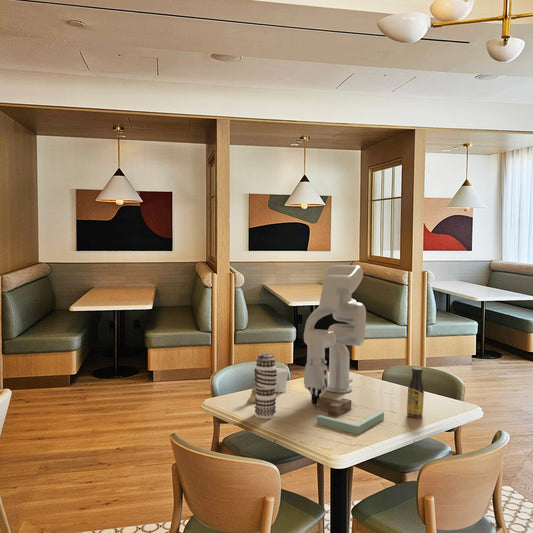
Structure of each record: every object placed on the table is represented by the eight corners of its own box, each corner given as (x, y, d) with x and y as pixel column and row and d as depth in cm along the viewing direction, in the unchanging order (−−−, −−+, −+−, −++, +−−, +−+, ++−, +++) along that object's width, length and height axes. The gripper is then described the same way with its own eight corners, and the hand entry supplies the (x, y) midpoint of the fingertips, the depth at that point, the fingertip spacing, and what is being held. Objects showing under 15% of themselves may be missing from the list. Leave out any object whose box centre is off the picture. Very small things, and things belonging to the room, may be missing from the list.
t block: (327, 403, 230) (327, 394, 230) (351, 409, 222) (351, 400, 222) (311, 410, 220) (311, 401, 220) (336, 416, 213) (336, 406, 213)
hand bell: (263, 397, 239) (263, 362, 238) (268, 402, 231) (268, 366, 230) (245, 398, 237) (246, 363, 236) (250, 404, 229) (250, 367, 228)
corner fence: (344, 410, 221) (344, 403, 221) (383, 419, 210) (384, 412, 210) (316, 423, 204) (316, 416, 204) (358, 434, 193) (358, 426, 193)
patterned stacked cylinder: (253, 418, 210) (254, 356, 208) (254, 411, 219) (254, 351, 218) (276, 418, 210) (277, 356, 209) (276, 411, 219) (276, 352, 218)
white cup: (287, 393, 246) (287, 372, 245) (270, 393, 246) (270, 371, 246) (287, 388, 254) (287, 368, 253) (270, 388, 254) (271, 367, 253)
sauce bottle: (403, 415, 215) (404, 367, 214) (413, 412, 219) (414, 365, 218) (417, 419, 210) (418, 370, 209) (426, 416, 214) (427, 368, 213)
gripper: (335, 362, 224) (334, 405, 224) (306, 357, 233) (306, 398, 234) (325, 365, 218) (325, 409, 219) (296, 360, 227) (296, 402, 228)
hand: (315, 403), depth 226 cm, fingers closed
